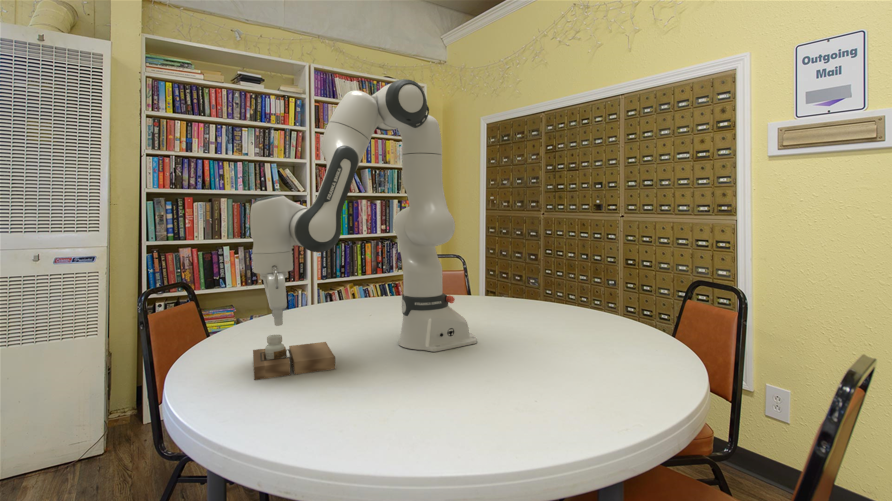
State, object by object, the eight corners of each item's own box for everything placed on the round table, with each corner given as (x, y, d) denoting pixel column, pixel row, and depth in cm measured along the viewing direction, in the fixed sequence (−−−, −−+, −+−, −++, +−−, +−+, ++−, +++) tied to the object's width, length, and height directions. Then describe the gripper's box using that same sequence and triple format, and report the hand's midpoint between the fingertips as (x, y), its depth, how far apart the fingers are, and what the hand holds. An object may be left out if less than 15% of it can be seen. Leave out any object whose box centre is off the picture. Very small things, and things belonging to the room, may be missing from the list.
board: (326, 352, 126) (325, 341, 126) (335, 368, 113) (334, 356, 113) (253, 361, 119) (252, 349, 119) (254, 379, 106) (253, 366, 106)
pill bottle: (279, 371, 112) (277, 339, 111) (262, 370, 113) (261, 338, 112) (288, 365, 116) (287, 334, 115) (272, 364, 117) (271, 333, 116)
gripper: (291, 267, 104) (295, 328, 105) (283, 258, 123) (287, 310, 124) (260, 270, 101) (265, 332, 103) (257, 260, 120) (262, 313, 122)
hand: (277, 320), depth 114 cm, fingers open, 8 cm apart
